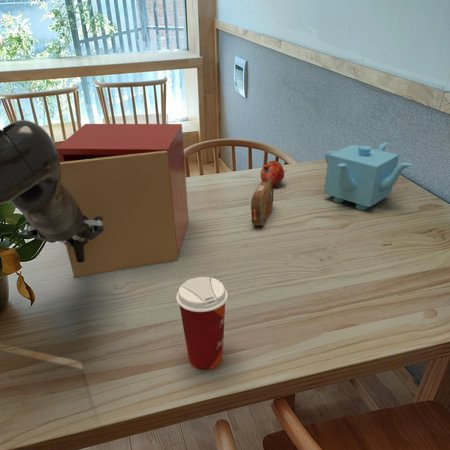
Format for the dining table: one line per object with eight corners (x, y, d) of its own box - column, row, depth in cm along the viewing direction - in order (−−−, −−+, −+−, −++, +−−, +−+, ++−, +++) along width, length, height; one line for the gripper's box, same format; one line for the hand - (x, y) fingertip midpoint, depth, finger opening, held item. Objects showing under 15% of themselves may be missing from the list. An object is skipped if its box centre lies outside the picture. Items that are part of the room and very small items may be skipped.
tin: (261, 231, 110) (262, 199, 105) (248, 230, 111) (249, 198, 106) (274, 207, 122) (275, 177, 117) (262, 205, 123) (263, 176, 118)
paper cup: (236, 365, 73) (236, 295, 65) (193, 380, 70) (187, 310, 62) (216, 337, 79) (213, 269, 70) (175, 350, 76) (167, 282, 68)
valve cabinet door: (183, 273, 95) (173, 161, 81) (74, 292, 90) (44, 176, 76) (176, 257, 101) (166, 150, 86) (74, 275, 96) (45, 163, 81)
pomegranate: (269, 185, 140) (248, 171, 133) (284, 165, 137) (263, 150, 131) (282, 196, 135) (260, 182, 128) (297, 176, 133) (276, 161, 126)
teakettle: (317, 188, 132) (322, 137, 123) (380, 186, 132) (390, 135, 124) (331, 216, 117) (339, 160, 108) (403, 213, 117) (416, 157, 108)
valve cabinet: (177, 257, 101) (167, 149, 86) (81, 255, 102) (55, 148, 88) (188, 222, 115) (181, 123, 101) (104, 220, 117) (85, 123, 102)
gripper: (95, 184, 70) (112, 220, 88) (4, 190, 69) (39, 225, 86) (98, 230, 69) (114, 257, 87) (6, 237, 68) (41, 263, 85)
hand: (77, 241), depth 86 cm, fingers closed on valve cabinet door
